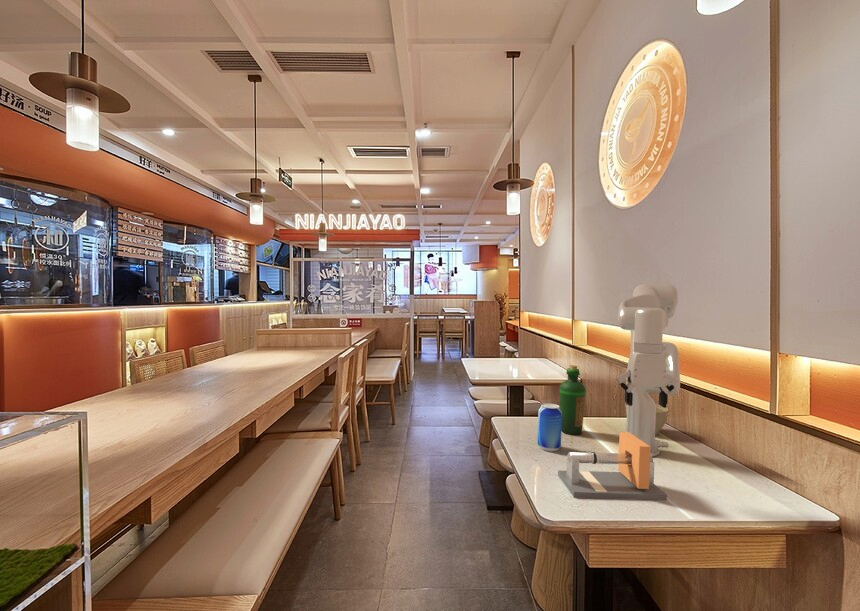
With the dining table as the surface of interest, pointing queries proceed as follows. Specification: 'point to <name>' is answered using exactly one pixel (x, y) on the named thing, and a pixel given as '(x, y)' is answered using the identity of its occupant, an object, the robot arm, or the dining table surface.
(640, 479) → the collar
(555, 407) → the beer can
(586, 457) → the pipe
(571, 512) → the dining table surface
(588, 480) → the base board
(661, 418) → the planter bowl
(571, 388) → the bottle
